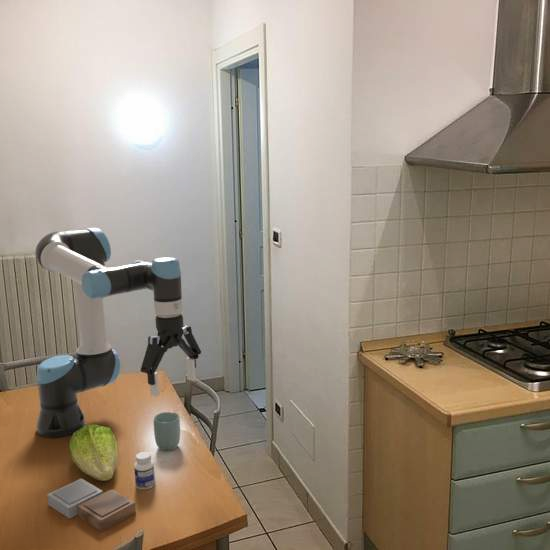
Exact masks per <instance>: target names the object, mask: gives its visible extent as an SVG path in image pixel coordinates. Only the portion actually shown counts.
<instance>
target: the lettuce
mask: <svg viewBox="0 0 550 550" xmlns="http://www.w3.org/2000/svg"><path fill="white" fill-rule="evenodd" d="M71 435H72V436H71V438H70V440H69V444H68V445H69V449H68V450H69V452H70V456H71V461H72V462H73V463H74V464H75V465H76V466H77V468H79V470H81V471H82V472H83V474H86V475H87V476H88V477H91V478H92V479H95V480H98V481H109V480H111V479H112V478H113V476H114V474H115V470H116V466H117V461H118V448H119V447H118V443H117V438H116V436H115V434H114V433H113V431H112V430H111V428H110V427H107V426H103V425H100V424H96V423H95V424H92V423H89V424H85V426H84V427H82V428H81V429H80V430H78V431H76V432H74V433H73V434H71Z"/></svg>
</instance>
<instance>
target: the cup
mask: <svg viewBox="0 0 550 550" xmlns="http://www.w3.org/2000/svg"><path fill="white" fill-rule="evenodd" d="M152 422H153V432H154V433H153V435H154V441H155V445H156V446H157V448H158V449H160V450H162V451H169V452H170V451H172V450H175V449H176V448H177V447H178V445H179V443H180V442H181V420H180V414H179V413H176V412H172V411H165V412H161V413H158V414H156V415H154V417H153V421H152Z"/></svg>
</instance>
